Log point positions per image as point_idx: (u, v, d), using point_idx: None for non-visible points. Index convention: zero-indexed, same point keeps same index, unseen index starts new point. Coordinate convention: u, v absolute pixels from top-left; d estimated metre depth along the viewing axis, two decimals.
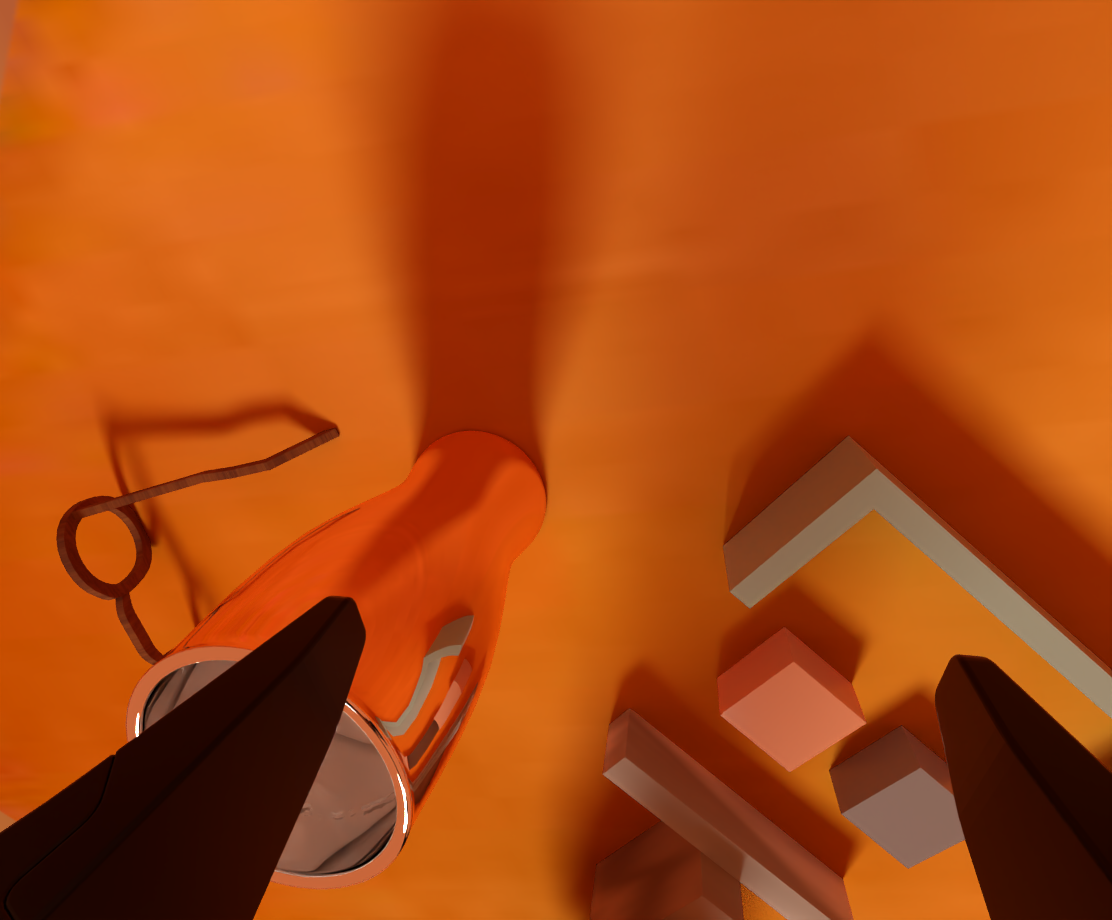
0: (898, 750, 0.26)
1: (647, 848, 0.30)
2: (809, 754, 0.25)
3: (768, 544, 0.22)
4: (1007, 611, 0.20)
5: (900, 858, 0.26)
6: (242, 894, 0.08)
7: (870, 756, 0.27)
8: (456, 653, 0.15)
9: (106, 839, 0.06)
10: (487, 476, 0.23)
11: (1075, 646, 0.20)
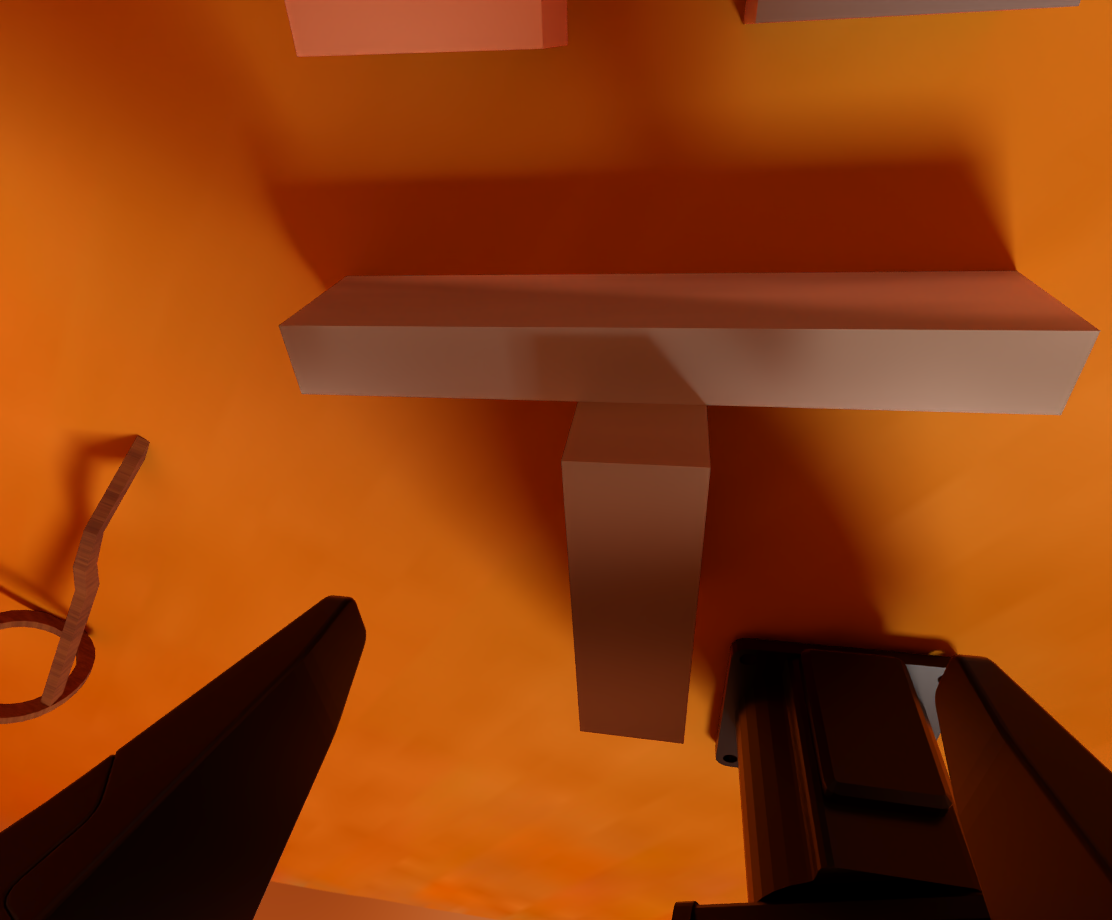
0: None
1: None
2: None
3: None
4: None
5: None
6: (242, 894, 0.08)
7: None
8: None
9: (106, 839, 0.06)
10: None
11: None
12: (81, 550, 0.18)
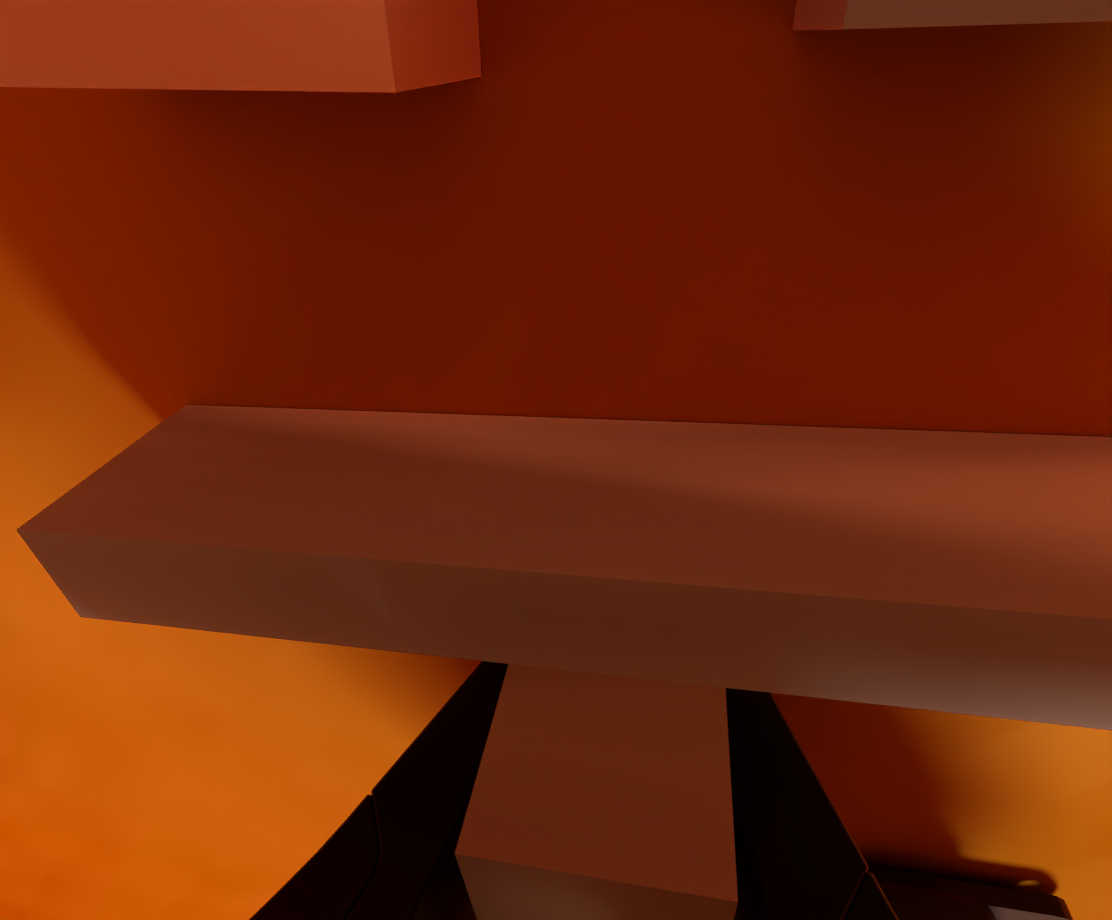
0: None
1: None
2: None
3: None
4: None
5: None
6: None
7: None
8: None
9: (406, 895, 0.06)
10: None
11: None
12: None
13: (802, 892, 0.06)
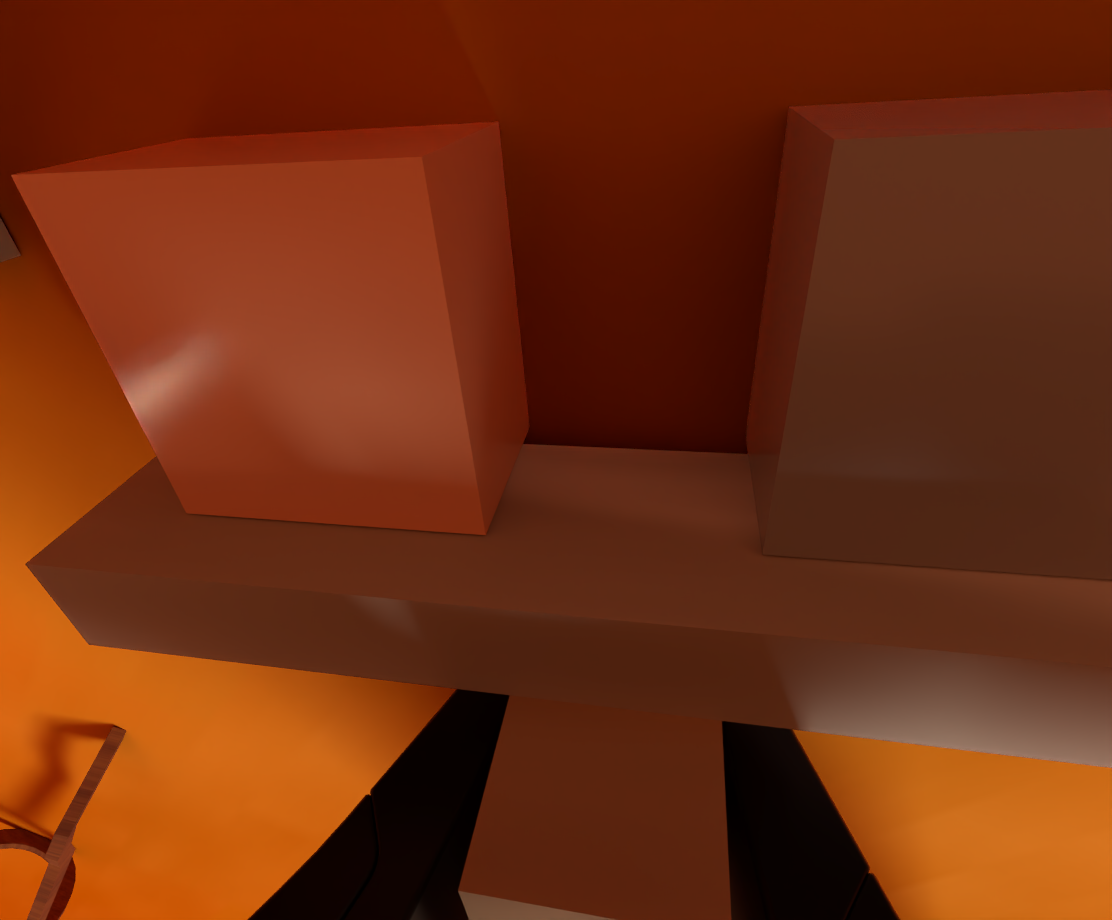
0: (797, 189, 0.06)
1: None
2: (451, 443, 0.06)
3: None
4: None
5: None
6: None
7: (772, 303, 0.07)
8: None
9: (404, 894, 0.06)
10: None
11: None
12: (52, 847, 0.17)
13: (803, 893, 0.06)
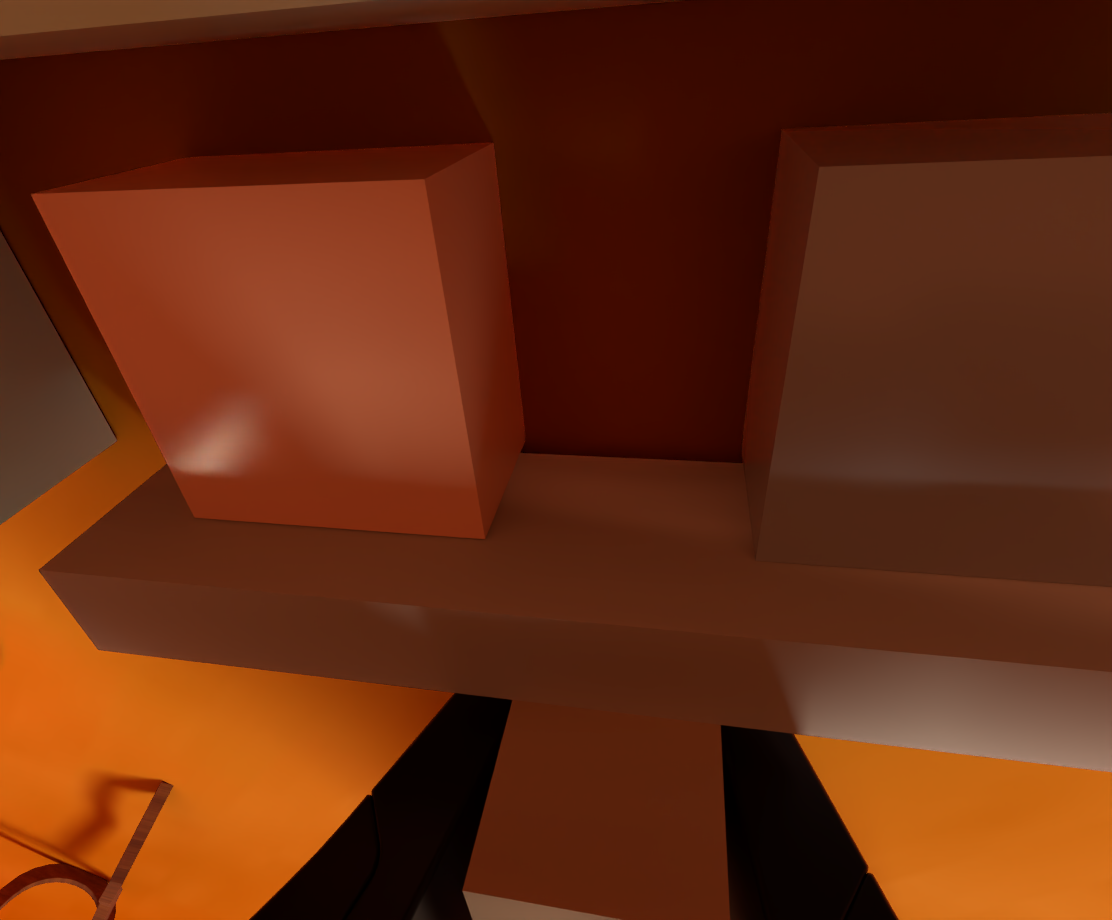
0: (786, 208, 0.06)
1: None
2: (452, 450, 0.07)
3: None
4: None
5: (1107, 575, 0.06)
6: None
7: (765, 316, 0.07)
8: None
9: (405, 895, 0.06)
10: None
11: None
12: (107, 892, 0.19)
13: (802, 893, 0.06)
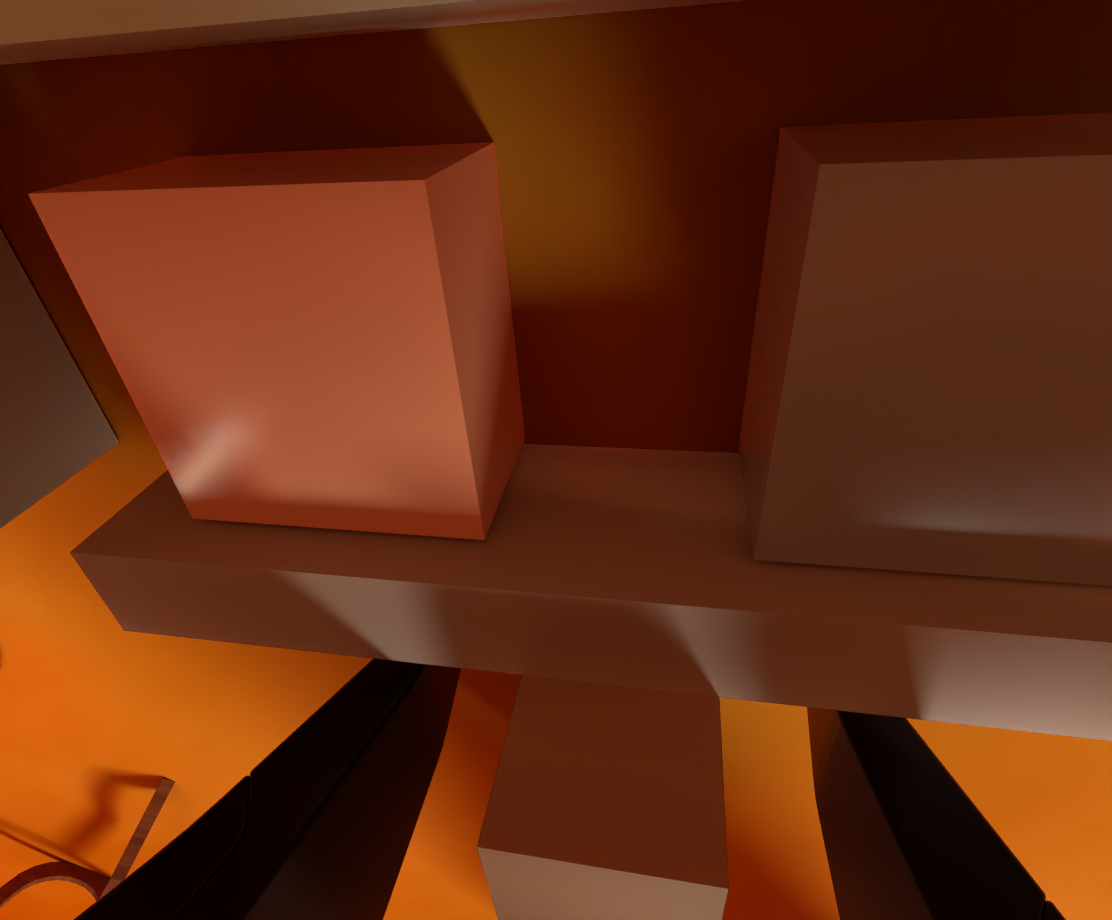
0: (787, 207, 0.06)
1: None
2: (451, 451, 0.07)
3: None
4: None
5: (1104, 574, 0.06)
6: (367, 918, 0.08)
7: (762, 315, 0.07)
8: None
9: (262, 868, 0.06)
10: None
11: None
12: (108, 889, 0.19)
13: None
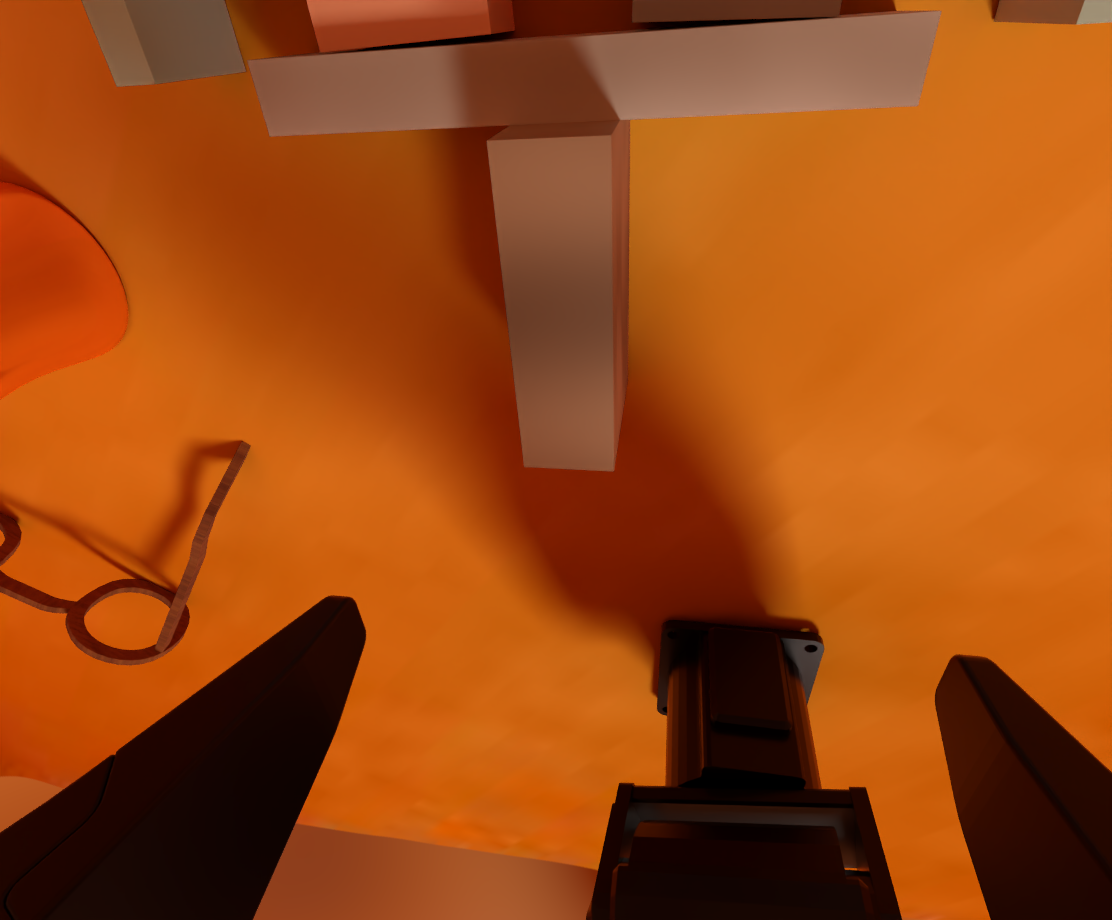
0: None
1: None
2: None
3: None
4: None
5: (805, 7, 0.12)
6: (242, 894, 0.08)
7: None
8: None
9: (106, 839, 0.06)
10: None
11: None
12: (200, 528, 0.24)
13: None
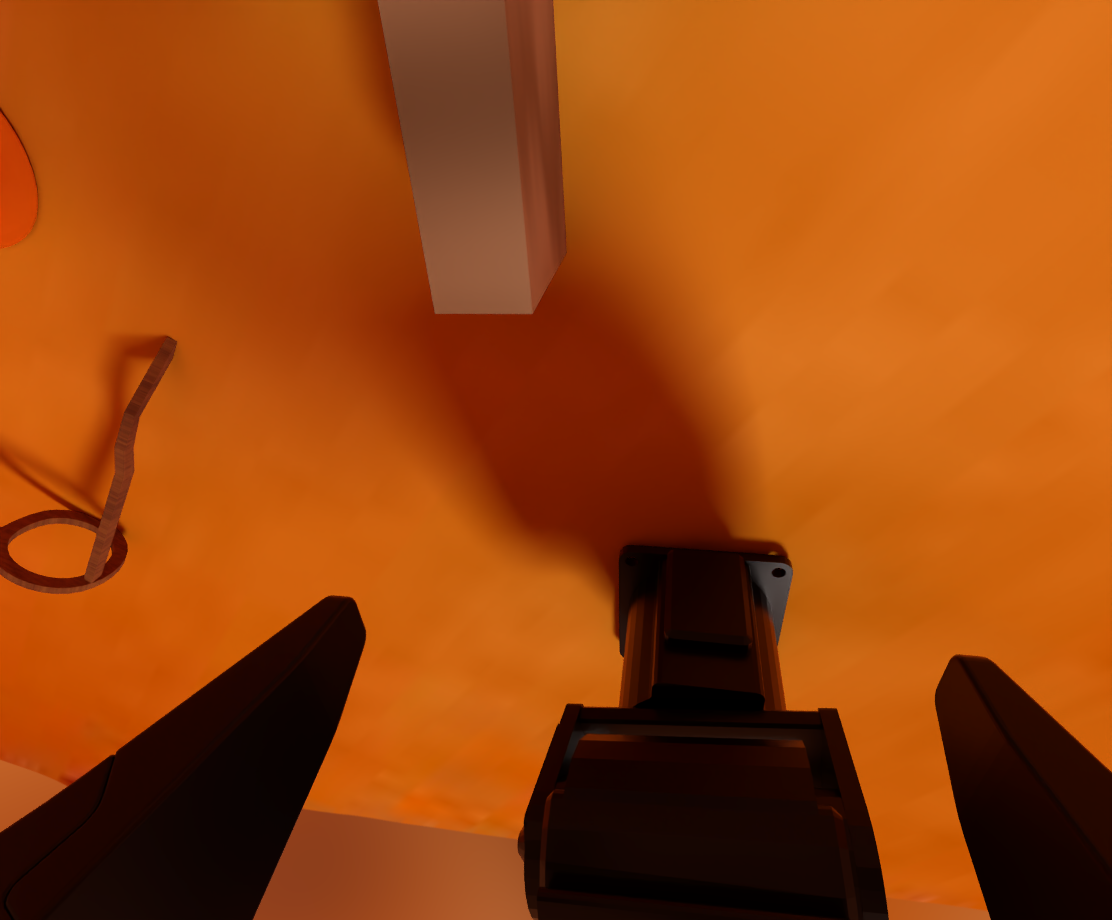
0: None
1: None
2: None
3: None
4: None
5: None
6: (242, 894, 0.08)
7: None
8: None
9: (106, 839, 0.06)
10: None
11: None
12: (121, 431, 0.23)
13: None
